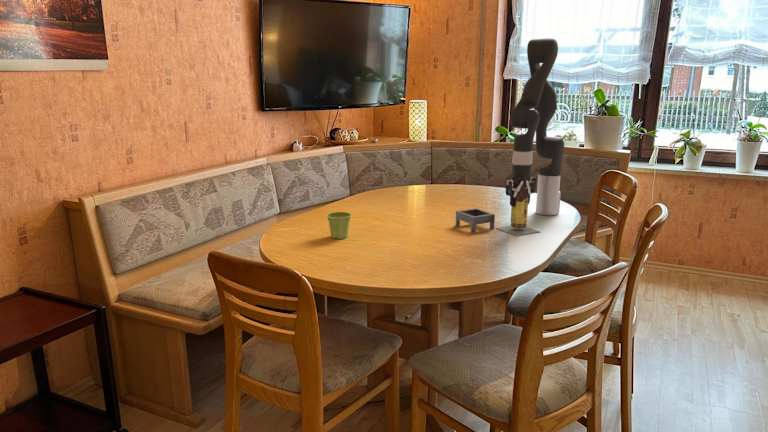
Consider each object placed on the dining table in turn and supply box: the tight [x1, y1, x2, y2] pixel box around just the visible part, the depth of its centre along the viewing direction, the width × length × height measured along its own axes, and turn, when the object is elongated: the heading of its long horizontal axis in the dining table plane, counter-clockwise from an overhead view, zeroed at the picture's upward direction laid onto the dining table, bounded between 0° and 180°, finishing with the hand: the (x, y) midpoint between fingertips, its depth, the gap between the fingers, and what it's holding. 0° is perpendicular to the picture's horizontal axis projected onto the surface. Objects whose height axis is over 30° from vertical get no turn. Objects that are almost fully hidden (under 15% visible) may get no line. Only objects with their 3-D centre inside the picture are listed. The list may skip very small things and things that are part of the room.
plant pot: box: [325, 211, 352, 240], centre depth 216 cm, size 9×9×9 cm
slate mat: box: [495, 225, 541, 237], centre depth 226 cm, size 12×12×1 cm
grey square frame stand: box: [455, 207, 496, 233], centre depth 230 cm, size 10×11×6 cm
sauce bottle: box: [510, 177, 529, 228], centre depth 224 cm, size 7×6×20 cm
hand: (519, 205), depth 224 cm, fingers closed on sauce bottle, 6 cm apart
